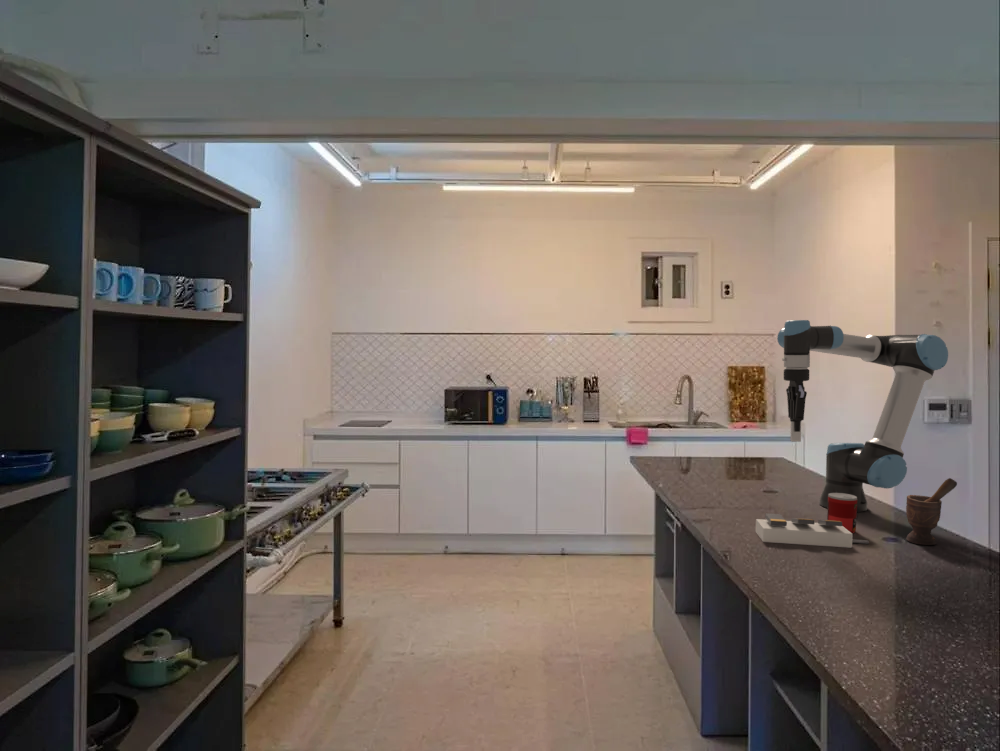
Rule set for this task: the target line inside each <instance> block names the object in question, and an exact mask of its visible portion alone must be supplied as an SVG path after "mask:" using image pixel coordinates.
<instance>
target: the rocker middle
mask: <svg viewBox="0 0 1000 751" xmlns="http://www.w3.org/2000/svg"><path fill="white" fill-rule="evenodd" d="M790 521H792V522H793V523H800V524H814V523H815V520H814V519H812V518H811V519H810V518H796V517H794V518H793V517H791V519H790Z"/></svg>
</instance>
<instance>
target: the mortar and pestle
mask: <svg viewBox="0 0 1000 751" xmlns="http://www.w3.org/2000/svg"><path fill="white" fill-rule="evenodd" d="M957 485H958V482H957V481H956V480H955V479H953V478H950V477H949V478H946V479H945V480H944V482H943V481H942V483H941V485H940V486H939V487H938V488H937V490H936V491H935V492H934V494H933V495H931V496H927V495H921V494H919V495H918V494H908V495H906V504H905V505H906V506H905V515H906V518H907V523H908V524H909V525H910V526H911V528H912V531H910V532H909V533H908V534H907V535H906V537H905V540H906V541H908V542H910V543H912V544H917V545H921V546H933V545H937V541H936V538H935V537H934V536H933V535H932V534H931V533H932V530H934V529H936V528H937V526H938V523H939V521H940V520H941V519H940V518H941V512H942V502H943V501H942V500H941V499H943V498H944V497H945V496H946V495H948V494H950V492H951V491H952V490H954V489H955V488H956V487H957Z"/></svg>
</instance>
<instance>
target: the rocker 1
mask: <svg viewBox="0 0 1000 751" xmlns="http://www.w3.org/2000/svg"><path fill="white" fill-rule="evenodd" d="M764 515H765V517H764V518H765V520H767V521H768V522H769V523H770V525H778V526H787V522H786V521H787V520H786V519H785V518H784V516H783V515H782V514H781V513H767V512H766V513H765V514H764Z"/></svg>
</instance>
